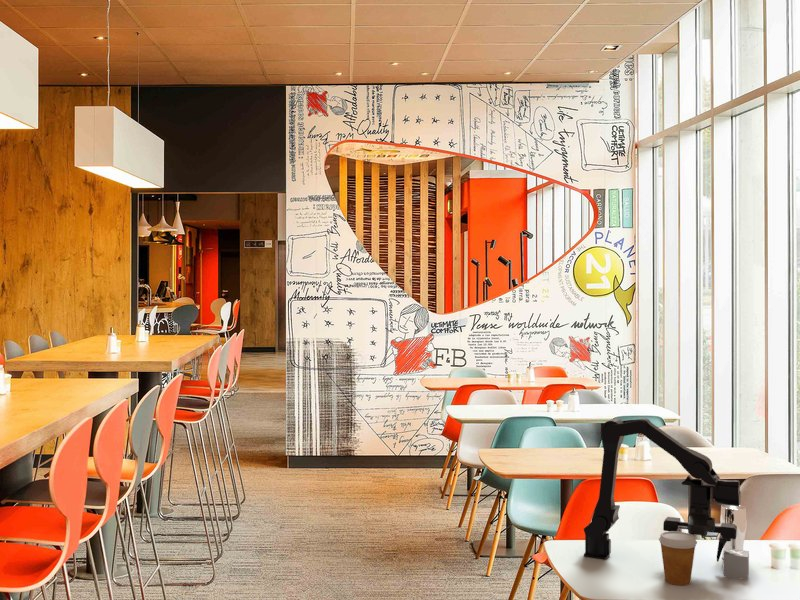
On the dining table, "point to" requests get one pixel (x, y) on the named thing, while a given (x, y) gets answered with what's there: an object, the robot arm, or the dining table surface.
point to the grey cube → (736, 563)
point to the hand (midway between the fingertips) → (699, 558)
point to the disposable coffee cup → (677, 556)
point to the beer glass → (739, 519)
